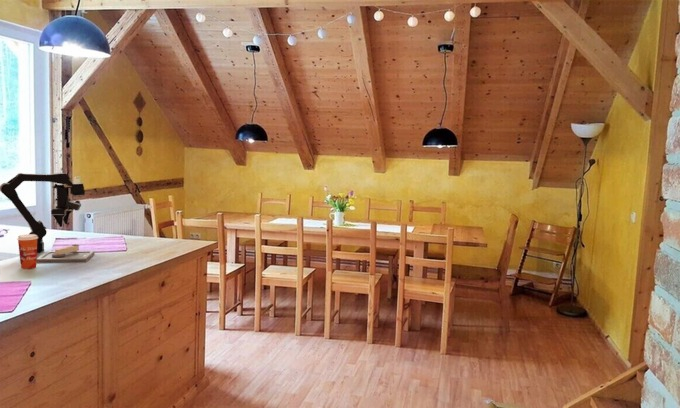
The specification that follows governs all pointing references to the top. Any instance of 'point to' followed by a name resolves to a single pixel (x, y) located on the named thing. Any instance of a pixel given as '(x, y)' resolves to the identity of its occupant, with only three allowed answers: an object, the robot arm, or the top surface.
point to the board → (66, 257)
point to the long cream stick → (65, 250)
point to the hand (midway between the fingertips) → (63, 225)
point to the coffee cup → (28, 250)
